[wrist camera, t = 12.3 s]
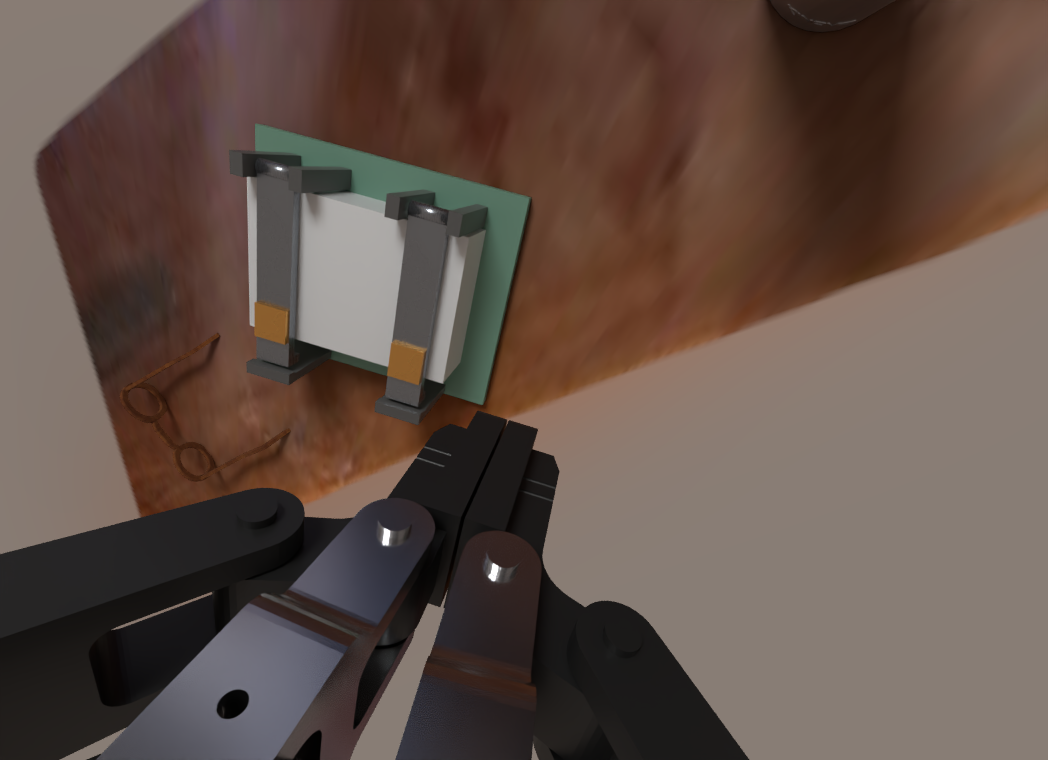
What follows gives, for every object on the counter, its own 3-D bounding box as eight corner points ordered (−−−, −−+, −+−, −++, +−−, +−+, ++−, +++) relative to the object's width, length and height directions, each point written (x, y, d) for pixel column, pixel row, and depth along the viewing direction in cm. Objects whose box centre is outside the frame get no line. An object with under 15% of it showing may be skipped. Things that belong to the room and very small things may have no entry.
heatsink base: (263, 124, 41) (186, 115, 34) (531, 197, 39) (511, 204, 32) (264, 333, 49) (203, 362, 42) (485, 400, 48) (461, 442, 41)
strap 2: (418, 199, 36) (407, 200, 34) (456, 209, 36) (447, 211, 34) (392, 389, 43) (382, 398, 41) (424, 399, 42) (415, 409, 41)
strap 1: (271, 158, 37) (253, 157, 35) (307, 168, 36) (291, 167, 35) (268, 351, 43) (253, 359, 42) (299, 361, 43) (285, 369, 41)
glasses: (147, 376, 55) (105, 395, 51) (220, 330, 51) (181, 346, 46) (221, 466, 59) (188, 491, 54) (295, 430, 54) (266, 454, 50)
